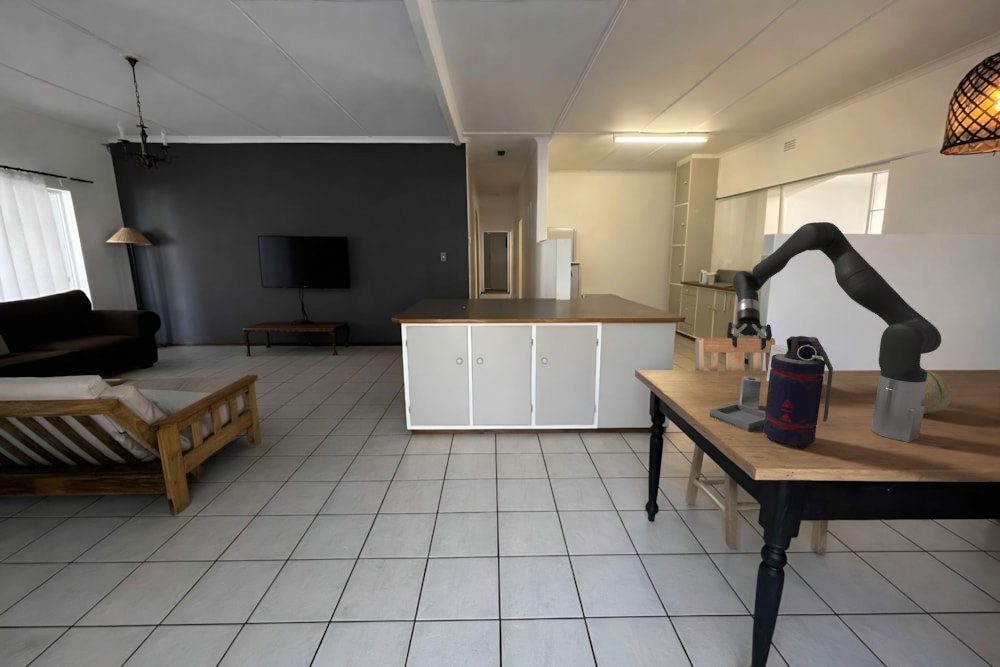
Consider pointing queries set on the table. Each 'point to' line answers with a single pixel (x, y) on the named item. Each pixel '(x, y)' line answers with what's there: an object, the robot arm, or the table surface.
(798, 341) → the grenade
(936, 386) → the honeydew melon
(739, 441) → the table surface
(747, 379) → the grey tall block
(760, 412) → the tray
